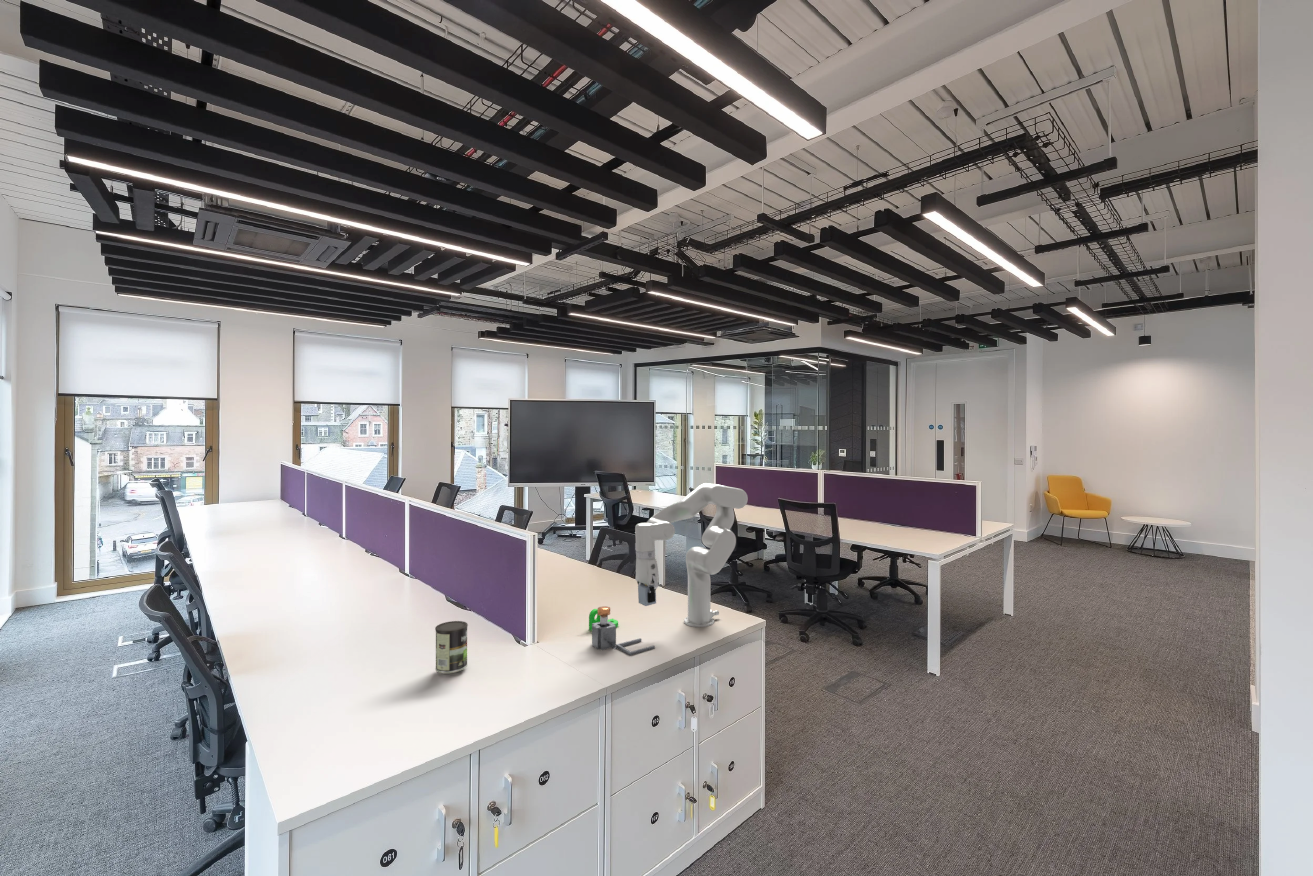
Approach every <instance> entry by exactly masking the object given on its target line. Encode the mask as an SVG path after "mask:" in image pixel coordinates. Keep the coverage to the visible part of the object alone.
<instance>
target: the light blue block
mask: <svg viewBox="0 0 1313 876" xmlns="http://www.w3.org/2000/svg"><path fill="white" fill-rule="evenodd" d="M651 587H652V586H650V588H651ZM637 593H638V604H640V605H642V606H644V607H647V606H652V605H655V604H657V591H656V592H655V602H651V603H648V594H647V593H648V587H647V585H646V584H642V585H638V584H637Z"/></svg>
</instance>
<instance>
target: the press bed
mask: <svg viewBox="0 0 1313 876" xmlns="http://www.w3.org/2000/svg"><path fill="white" fill-rule="evenodd" d="M641 642H642V638H635V639H632V640H629V641H625V642H620V643H616V646H615V647H612V648H611V649H613V650H616V649H618V650H619V651H621V652H623V653H625V654H626V655H628V656H629V657H630V656H631V657H632V656H633V655H638V654H640V653H644V652H647V651H650V650H653V649H654V650H655V648H656V646H655V645H651V646H646V647H643V648H638V649H636V650H632V651H631V650H628V649H627V648H626V647H627V646H628V647H629V646H631V645H635V644H638V643H641Z"/></svg>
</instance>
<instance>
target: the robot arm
mask: <svg viewBox="0 0 1313 876" xmlns="http://www.w3.org/2000/svg"><path fill="white" fill-rule="evenodd" d="M748 497H749V496H748V494H747V492H746V491H745V490H743V489H742V488H737V487H732V486H726V485H721V484H717V483H709V482H704V483H701V484H699V485H698V486H697V487H695V488H694V489H693V490H692V491H690V492H689V493H688V494H687V495H685V497H683V498H682V499H680V500H679V501H677V502H675V503H673V504H670V505H668V506H666V507H664V508H662V509H660V510H659V511H657V512H656V513H655V514H654V515H652V516H651V517H650V518H649V519H648V520H647V521H646V522H640V523H637V524H636V525H635V526H634V527H635V528H634V530H635V532H634V533H635V555H636V556H635V558H636V559H635V581H636V583H637V586H638V585H642V584H646V585H647V587H648V593H647V594H648V603H651V602H655V592H656V593H657V591H656V590H657V589H658V587H659V586H660V585H659V584H660V583H659V581H660V580H659V579H660V577H659V568H658V567H659V566H658V561H657V558H656V543H655V542H656V541H669V540H670V539H672V538H673V537H674V535H675V534H676V530H675V529H676V528H675V526H674V525H673V523H675V522H678V521H684V520H689V519H693V518H694V517H695V516H696V515H698V513H700V512H701V511H702V510H704V509H705V508H706V507H707V506H708V505H713V506H714V505H715V507H716V512H715V514H714V517H713V518H712V520H711V521H710V522H709V525H708V526H707V527H706V529H705V530H704V532H703V533H702V536H701V542H702V545H704V546H705V547H702V546H692V547H690V548H689V549H688V550H687V552H686V554H685V555H686V556H685V566H686V570H687V616H685V617H684V619H683V622H684V624H685V625H686V626H689V627H691V628H692V627H693V628H705V627H710V626H712V625H713V624H715V619H714V618H713V617H715V616H719V615H720V611H719V610H714V611H713V610H712V609H711V601H712V600H711V599H712V598H711V581H712V580H711V576H712V575H716V574H718V573H719V572H720V571H721V570H722V569H723V568H724V566H725V565H726V563H727V561H728V559H729V558H730V556H731V555H732V553H733V551H734V550H735V547H736V545H737V537H736V535H735V533H734V532H733V531H732V530H731V529H732V527H733V524H734V522H735V512H734V509H736V510H738V509H744V508H745V506H746V505H747V503H748ZM706 547H707V548H706ZM710 575H711V576H710ZM650 586H652V587H651V588H650Z"/></svg>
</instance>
